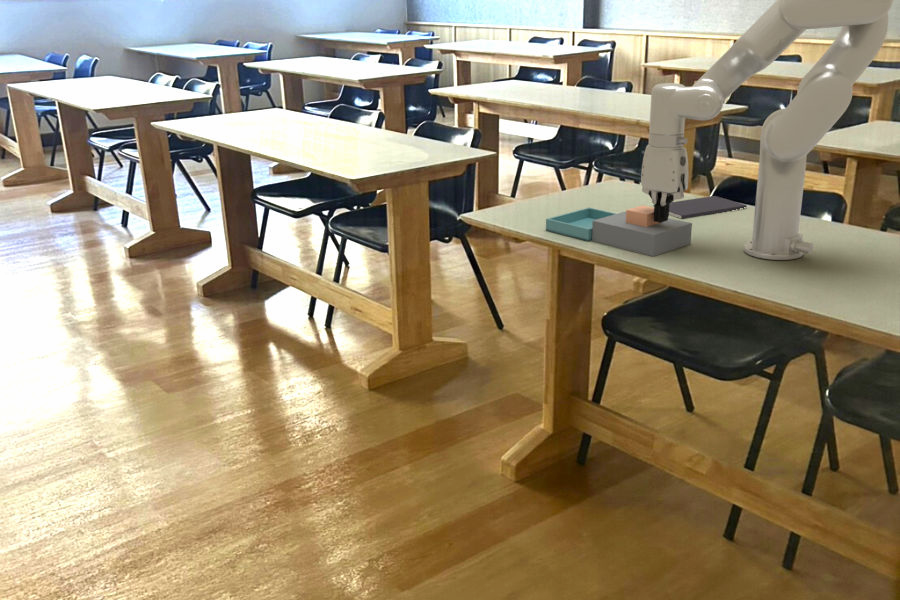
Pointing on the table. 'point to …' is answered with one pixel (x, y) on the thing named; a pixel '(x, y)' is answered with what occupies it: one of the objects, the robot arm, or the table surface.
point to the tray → (576, 223)
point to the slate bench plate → (641, 234)
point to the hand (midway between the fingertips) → (660, 220)
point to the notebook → (702, 207)
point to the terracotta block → (641, 216)
